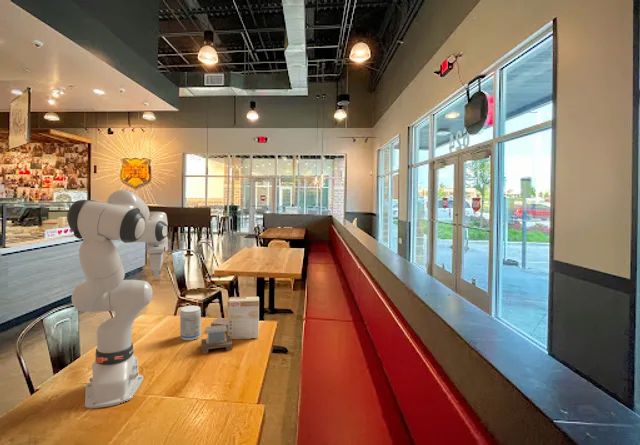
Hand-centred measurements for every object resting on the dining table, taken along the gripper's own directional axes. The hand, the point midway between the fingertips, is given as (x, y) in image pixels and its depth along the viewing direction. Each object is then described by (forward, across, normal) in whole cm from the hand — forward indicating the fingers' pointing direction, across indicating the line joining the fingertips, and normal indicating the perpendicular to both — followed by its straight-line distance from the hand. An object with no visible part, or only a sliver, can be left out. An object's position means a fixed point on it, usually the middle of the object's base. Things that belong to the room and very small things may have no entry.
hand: (157, 276), depth 161 cm
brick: (+33, -12, +33) cm, 48 cm away
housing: (+30, +10, +25) cm, 40 cm away
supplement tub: (+33, -6, +14) cm, 36 cm away
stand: (+33, +10, +26) cm, 43 cm away
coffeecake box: (+33, 0, +39) cm, 51 cm away
